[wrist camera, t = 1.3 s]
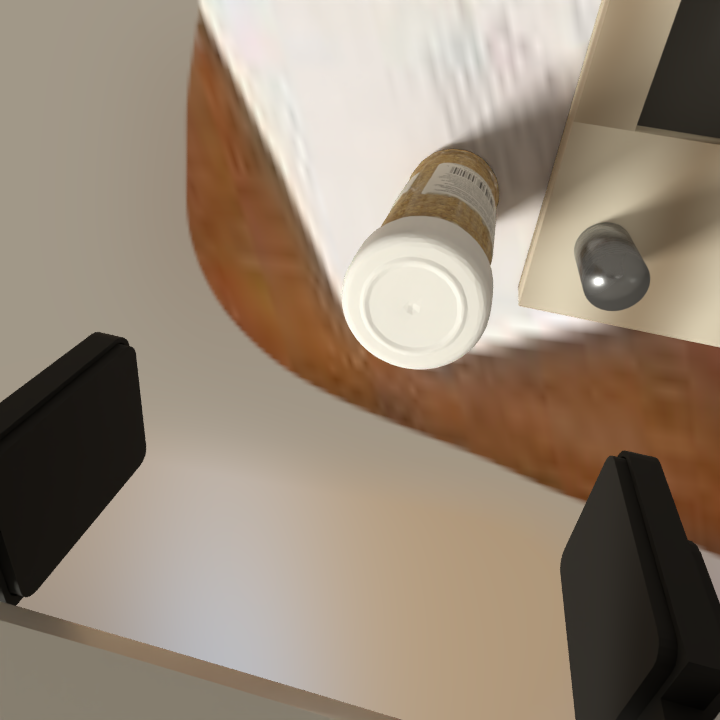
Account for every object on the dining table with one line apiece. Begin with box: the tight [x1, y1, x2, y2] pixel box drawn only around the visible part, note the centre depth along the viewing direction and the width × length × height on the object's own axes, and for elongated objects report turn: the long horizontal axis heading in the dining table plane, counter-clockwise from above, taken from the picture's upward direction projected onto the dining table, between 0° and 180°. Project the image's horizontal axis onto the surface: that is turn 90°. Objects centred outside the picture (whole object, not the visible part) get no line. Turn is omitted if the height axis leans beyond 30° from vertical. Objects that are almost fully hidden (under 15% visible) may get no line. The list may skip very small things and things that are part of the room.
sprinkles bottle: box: [342, 149, 499, 369], centre depth 22 cm, size 5×5×14 cm
